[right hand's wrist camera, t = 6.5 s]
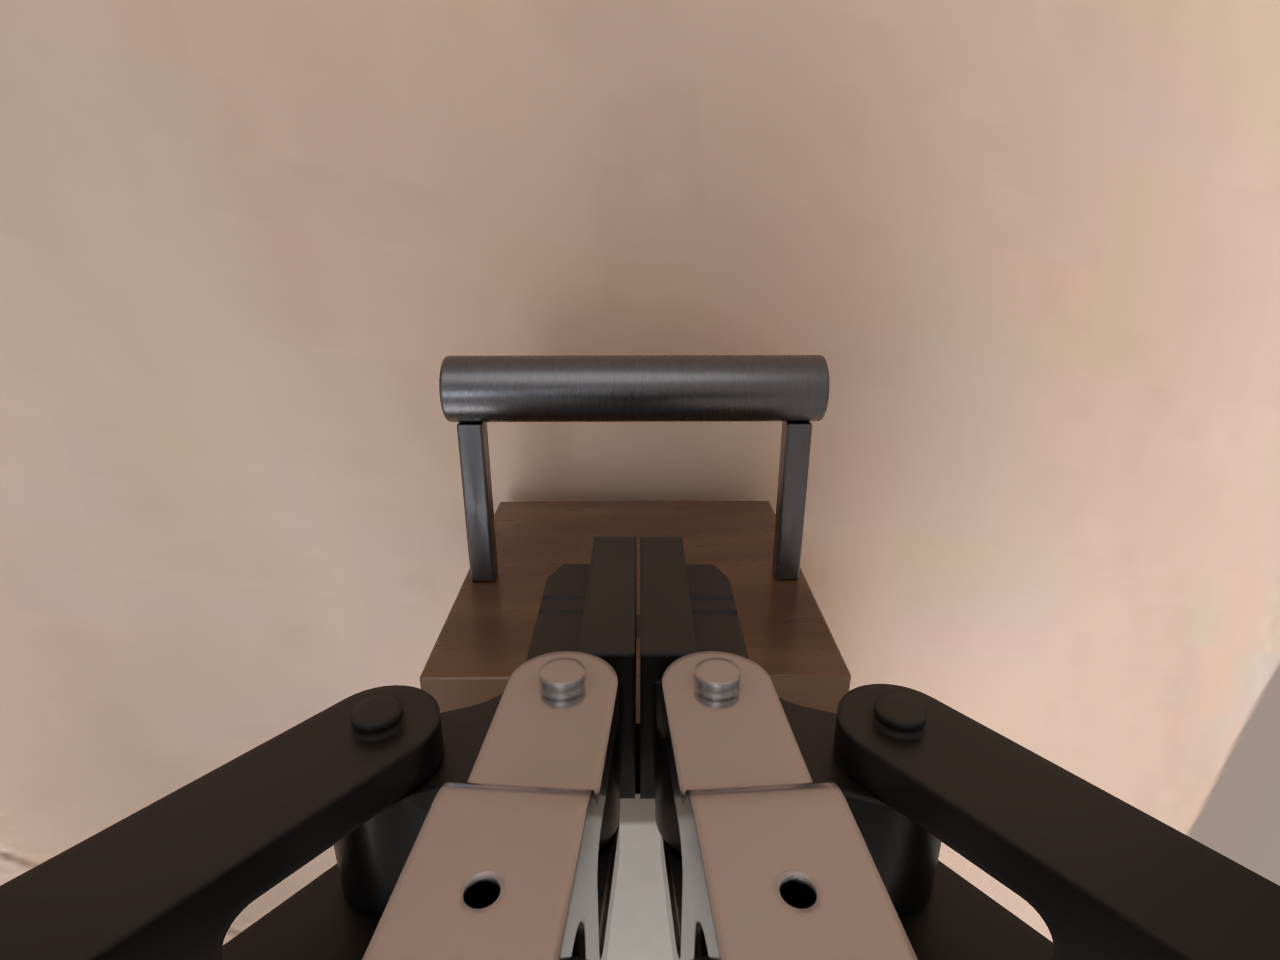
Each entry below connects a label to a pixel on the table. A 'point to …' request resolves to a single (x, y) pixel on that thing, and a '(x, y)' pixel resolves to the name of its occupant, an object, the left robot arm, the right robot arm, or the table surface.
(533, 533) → the drawer
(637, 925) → the tall grey storage box
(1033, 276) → the table surface
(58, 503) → the table surface
